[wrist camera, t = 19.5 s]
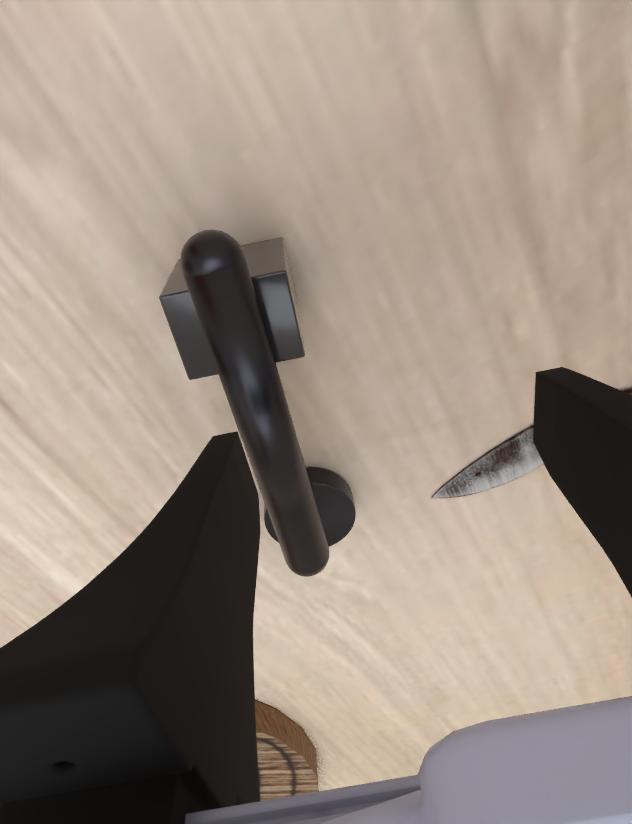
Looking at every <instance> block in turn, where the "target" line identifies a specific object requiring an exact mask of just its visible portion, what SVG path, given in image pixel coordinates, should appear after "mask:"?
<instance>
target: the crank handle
mask: <svg viewBox="0 0 632 824" xmlns="http://www.w3.org/2000/svg"><path fill="white" fill-rule="evenodd" d="M180 263H181V270H182V274H183V276H184V279H185V282H186V285H187V287H188V290H189V293H190V296H191V299H192V301H193V304H194V307H195V310H196V312H197V315H198V318H199V321H200V324H201V326H202V329H203V332H204V335H205V338H206V340H207V343H208V346H209V349H210V351H211V354H212V357H213V360H214V363H215V365H216V368H217V371H218V374H219V377H220V379H221V382H222V385H223V388H224V390H225V393H226V396H227V399H228V402H229V404H230V407H231V410H232V413H233V416H234V418H235V421H236V424H237V427H238V429H239V432H240V435H241V438H242V441H243V443H244V446H245V449H246V452H247V454H248V457H249V460H250V463H251V466H252V468H253V471H254V474H255V477H256V480H257V482H258V485H259V488H260V491H261V493H262V496H263V499H264V502H265V514H264V519H265V525H266V528H267V530H268V532H269V534H270V535H271V536H272V537H273V538H274V539H275V540H276V541H277V542H278V543H279V544H280V546H281V549H282V552H283V555H284V557H285V560H286V563H287V565H288V567H289V568H290V569H291V570H292V571H293V572H294V573H296V574H298V575H300V576H313V575H316V574H318V573H319V572H321V571H322V570H323V569H324V568H325V566H326V564H327V562H328V559H329V546H331V545H333V544H335V543H337V542H339V541H340V540H341V539H343V538H344V537H345V536H346V535H347V534H348V533H349V531H350V530H351V528H352V527H353V524H354V521H355V507H354V502H353V497H352V492H351V489H350V487H349V485H348V484H347V483H346V481H345V480H344V479H343V478H341V477H340V476H339V475H337V474H335V473H334V472H331V471H329V470H325V469H321V468H306V467H305V464H304V460H303V457H302V453H301V450H300V446H299V443H298V439H297V436H296V432H295V429H294V426H293V422H292V419H291V415H290V412H289V408H288V405H287V401H286V398H285V394H284V391H283V387H282V384H281V380H280V377H279V373H278V370H277V367H276V363H275V360H274V356H273V353H272V349H271V346H270V342H269V339H268V335H267V332H266V328H265V325H264V321H263V318H262V315H261V311H260V308H259V304H258V301H257V297H256V294H255V290H254V287H253V283H252V280H251V276H250V273H249V269H248V266H247V262H246V259H245V256H244V253H243V250H242V248H241V247H240V245H239V244H238V242H237V241H236V240H235V239H234V238H232V237H231V236H230V235H228V234H226V233H224V232H222V231H218V230H204V231H201V232H199V233H197V234H195V235H193V236H192V237H191V238H190V239H189V240H188V241H187V242H186V244H185V245H184V247H183V250H182V253H181V259H180Z"/></svg>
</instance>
